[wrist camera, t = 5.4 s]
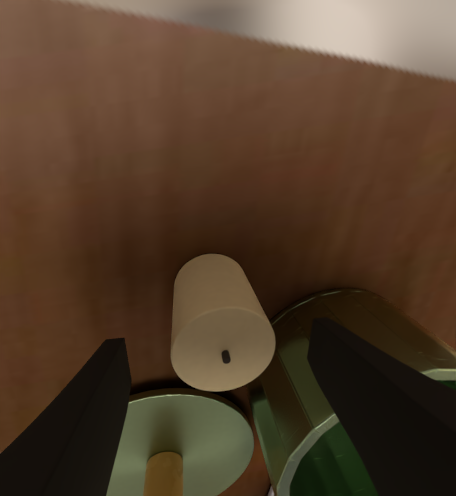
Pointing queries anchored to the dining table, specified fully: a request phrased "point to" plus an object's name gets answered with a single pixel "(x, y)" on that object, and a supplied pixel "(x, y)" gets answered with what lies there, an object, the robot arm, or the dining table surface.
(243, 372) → the candle
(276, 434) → the tin
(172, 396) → the tin lid
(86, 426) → the robot arm
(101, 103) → the dining table surface
